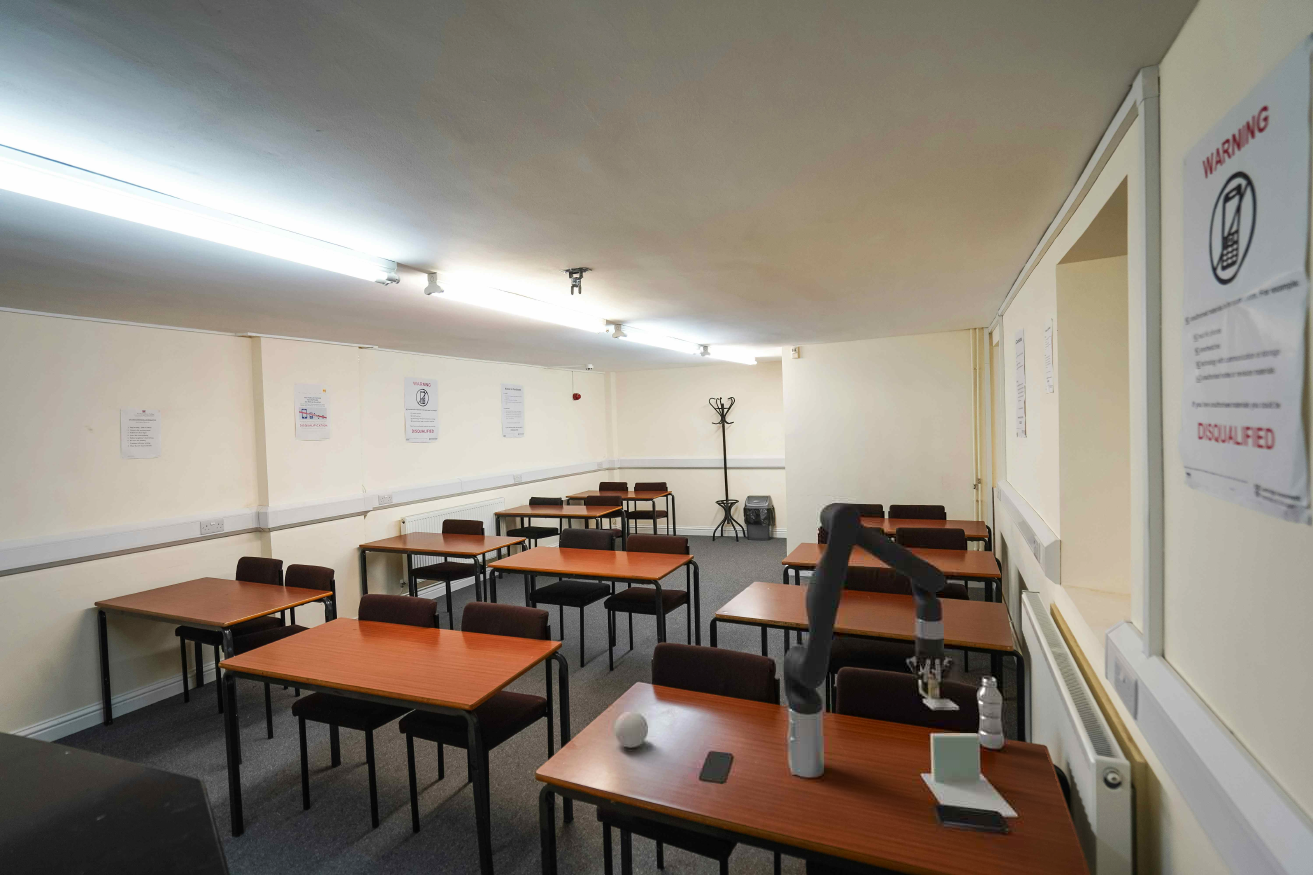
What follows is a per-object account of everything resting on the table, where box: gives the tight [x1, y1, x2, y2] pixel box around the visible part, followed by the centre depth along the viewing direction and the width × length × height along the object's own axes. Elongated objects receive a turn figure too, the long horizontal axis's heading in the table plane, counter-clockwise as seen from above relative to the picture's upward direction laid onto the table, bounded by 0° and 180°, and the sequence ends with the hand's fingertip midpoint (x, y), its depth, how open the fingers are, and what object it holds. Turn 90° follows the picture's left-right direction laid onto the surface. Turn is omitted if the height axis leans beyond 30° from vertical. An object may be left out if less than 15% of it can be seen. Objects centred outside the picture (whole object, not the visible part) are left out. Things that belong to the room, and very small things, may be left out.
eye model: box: [614, 710, 649, 749], centre depth 183 cm, size 10×10×10 cm
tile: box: [930, 732, 981, 782], centre depth 160 cm, size 12×2×12 cm, turn 87°
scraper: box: [918, 671, 960, 711], centre depth 173 cm, size 7×16×6 cm, turn 177°
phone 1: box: [698, 750, 734, 784], centre depth 170 cm, size 7×1×15 cm
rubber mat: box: [920, 773, 1019, 818], centre depth 154 cm, size 16×18×1 cm
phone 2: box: [933, 803, 1010, 835], centre depth 144 cm, size 8×1×15 cm
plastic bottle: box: [976, 675, 1005, 750], centre depth 177 cm, size 6×7×20 cm
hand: (930, 692), depth 175 cm, fingers closed on scraper
